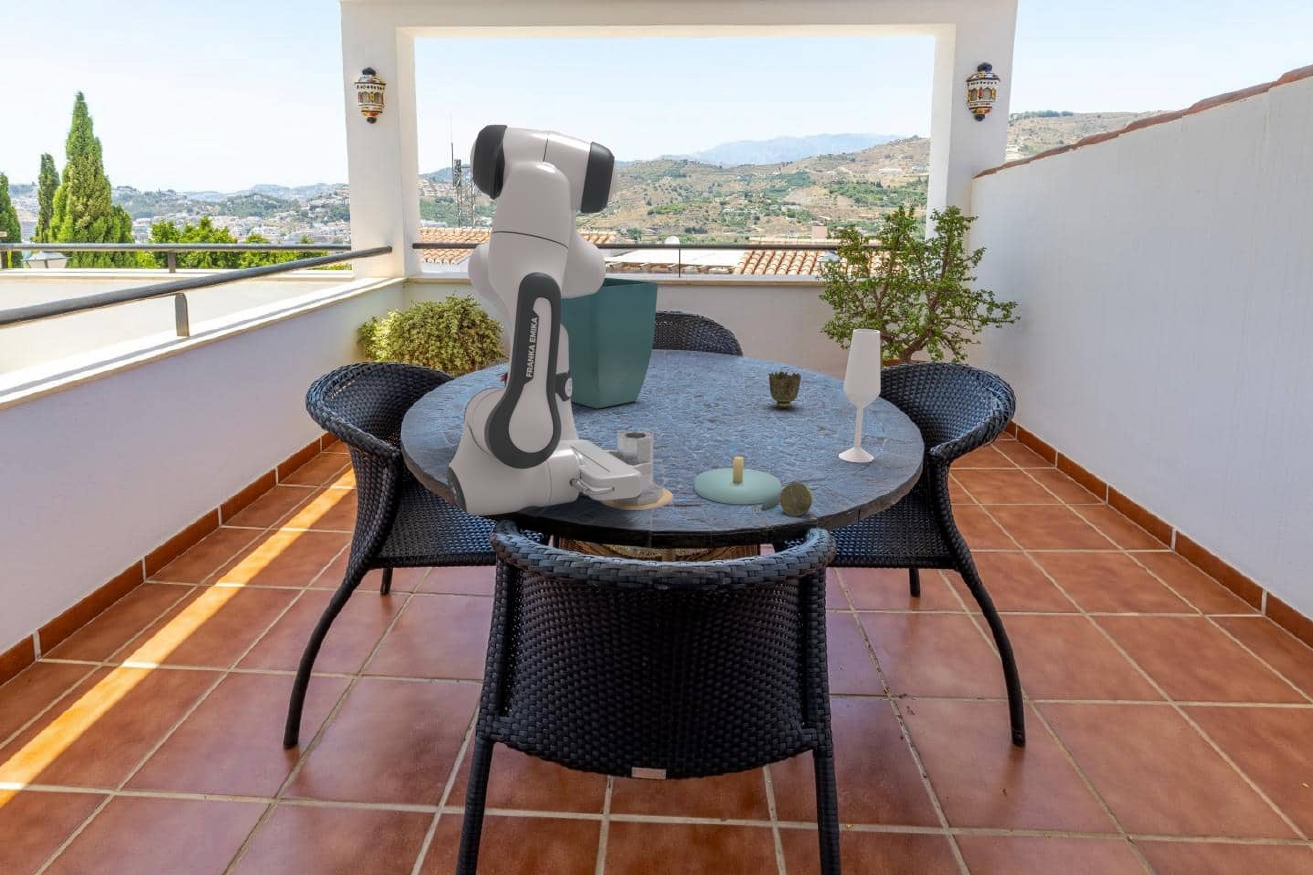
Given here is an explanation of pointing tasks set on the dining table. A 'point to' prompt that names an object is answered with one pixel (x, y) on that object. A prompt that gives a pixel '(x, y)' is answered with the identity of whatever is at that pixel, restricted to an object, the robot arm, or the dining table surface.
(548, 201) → the robot arm
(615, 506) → the stand
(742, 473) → the hub
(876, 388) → the champagne flute
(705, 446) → the dining table surface
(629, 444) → the sleeve
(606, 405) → the flower pot
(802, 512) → the lime
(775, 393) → the cup
